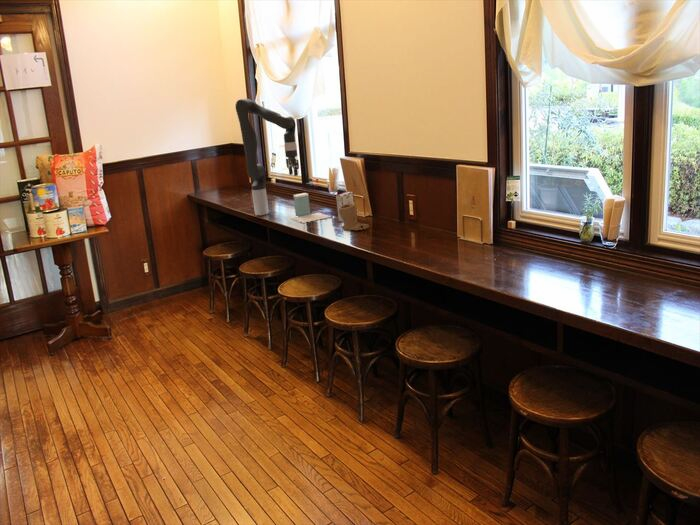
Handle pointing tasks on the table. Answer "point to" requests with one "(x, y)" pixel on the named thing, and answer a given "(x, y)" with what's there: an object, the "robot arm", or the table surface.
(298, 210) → the teal block
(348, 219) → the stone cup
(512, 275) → the table surface
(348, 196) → the candy bar box
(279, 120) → the robot arm
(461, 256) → the table surface
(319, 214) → the mat
